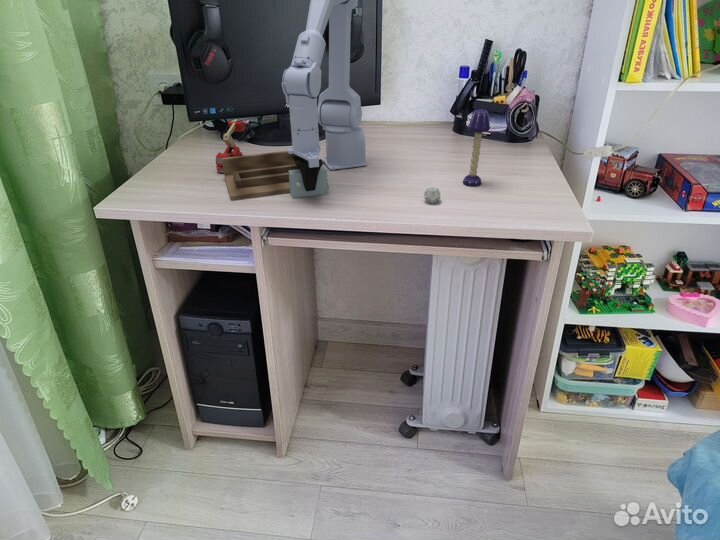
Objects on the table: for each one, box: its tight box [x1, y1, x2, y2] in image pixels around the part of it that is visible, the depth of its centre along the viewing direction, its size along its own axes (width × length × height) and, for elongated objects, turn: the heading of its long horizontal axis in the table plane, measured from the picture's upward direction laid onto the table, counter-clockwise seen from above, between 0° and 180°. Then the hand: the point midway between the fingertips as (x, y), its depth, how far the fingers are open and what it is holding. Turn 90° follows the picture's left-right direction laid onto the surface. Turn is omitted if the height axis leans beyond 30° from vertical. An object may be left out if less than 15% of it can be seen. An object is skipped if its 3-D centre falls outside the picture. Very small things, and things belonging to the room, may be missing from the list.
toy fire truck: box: [215, 121, 247, 174], centre depth 136 cm, size 3×14×10 cm, turn 168°
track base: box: [222, 150, 330, 201], centre depth 126 cm, size 22×14×5 cm, turn 108°
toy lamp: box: [462, 108, 491, 187], centre depth 121 cm, size 5×5×17 cm
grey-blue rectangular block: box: [289, 165, 329, 199], centre depth 120 cm, size 8×3×6 cm, turn 108°
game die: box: [423, 186, 441, 205], centre depth 116 cm, size 4×4×3 cm
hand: (308, 187), depth 121 cm, fingers closed on grey-blue rectangular block, 2 cm apart
